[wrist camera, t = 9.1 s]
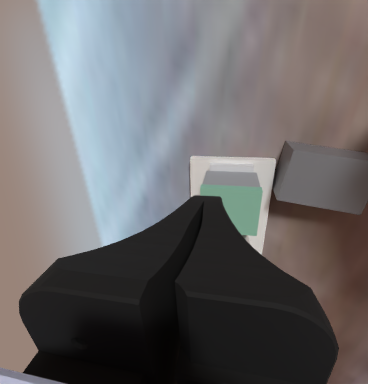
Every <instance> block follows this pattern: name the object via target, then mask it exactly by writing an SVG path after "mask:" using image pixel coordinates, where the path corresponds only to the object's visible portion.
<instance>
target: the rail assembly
mask: <svg viewBox="0 0 368 384" xmlns="http://www.w3.org/2000/svg"><path fill="white" fill-rule="evenodd" d="M275 165H276V160H275V158H252V157H213V156H191V158H190V179H191V197H192V196H194V195H201V196H220V197H221V198H222V202H223V205H224V208H225V210H226V212H227V214H228V216H229V217H230V219H231V221H232V222H233V224H234V225H235V227H236V228H237V230H238V231H239V232H240V234H241V235H248V237H249V241H250V245H251V246H252V247H253V248H254V249H255V250H257V251H258V252H259V253H260V254H261V255H262V250H263V243H264V237H265V230H266V224H267V217H268V211H269V204H270V198H271V191H272V185H273V178H274V172H275Z"/></svg>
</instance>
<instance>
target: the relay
mask: <svg viewBox="0 0 368 384" xmlns="http://www.w3.org/2000/svg"><path fill="white" fill-rule="evenodd" d="M272 189H273V191H274V194H275V197H276V199H277V200H279V201H285V202H290V203H296V204H301V205H307V206H313V207H318V208H324V209H329V210H335V211H340V212H346V213H352V214H357V215H361V213H362V211H363V210H364V208H365V206H366V204H367V202H368V153H366V152H359V151H352V150H345V149H338V148H331V147H324V146H317V145H311V144H304V143H297V142H290V141H285V144H284V147H283V150H282V153H281V156H280V160H279V163H278V166H277V169H276V172H275V176H274V179H273V185H272Z"/></svg>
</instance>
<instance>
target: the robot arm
mask: <svg viewBox="0 0 368 384" xmlns="http://www.w3.org/2000/svg"><path fill="white" fill-rule="evenodd" d="M19 313H20V316H21V319H22V321H23V323H24V325H25V327H26V328H27V330H28V332H29V334H30V336H31V338H32V339H33V341H34V343H35V345H36V346H37V348H38V350H39V351H38V353H37V354H36V355H35V357H34V358H33V359H32V361H31V362H30V364H29V365H28V366H27V368H26V369H25V371H24V372H23V373H20V372H16V371H12V370H8V369H4V368H0V384H327V381H328V379H329V377H330V374H331V372H332V369H333V367H334V365H335V362H336V360H337V356H338V349H339V347H338V344H337V341H336V338H335V335H334V332H333V329H332V327H331V325H330V322H329V320H328V318H327V316H326V314H325V312H324V311H323V309H322V307H321V305H320V303H319V302H318V300H317V298H316V296H315V295H314V293H313V291H312V289H311V288H310V287H308V286H307V285H305V284H303V283H302V282H300V281H298V280H297V279H295V278H294V277H292V276H290V275H289V274H287V273H285V272H284V271H282V270H281V269H279V268H278V267H277V266H275V265H274V264H273V263H271V262H270V261H268V260H267V259H266V258H265V257H263V256H262V255H261V254H260V253H259V252H258V251H257V250H255V249H254V248H253V247H252V246H251V245H250V244H249V243H248V242H247V241H246V240H245V238H244V237H243V236H242V235H241V234H240V232H239V231H238V230H237V228H236V227H235V225H234V224H233V222H232V221H231V219H230V217H229V216H228V214H227V212H226V210H225V208H224V205H223V202H222V198H221V197H220V196H201V195H194V196H192V197H191V198H190V199H189V200H187V201H186V202H185V203H184V204H183V205H181V206H180V207H179V208H178V209H176V210H175V211H174V212H172V213H171V214H170V215H168V216H167V217H165V218H164V219H162V220H161V221H159V222H158V223H156V224H154V225H153V226H151V227H149V228H147V229H145V230H144V231H142V232H139V233H137V234H135V235H133V236H130V237H128V238H126V239H123V240H121V241H118V242H116V243H113V244H110V245H107V246H104V247H101V248H98V249H95V250H91V251H87V252H83V253H79V254H75V255H72V256H67V257H63V258H58V259H57V260H56V261H55V262H54V263H53V264H52V265H51V266H50V267H49V268H48V269H47V270H46V271H45V272H44V273H43V274H42V275H41V276H40V277H39V278H38V279H37V280H36V281H35V282H34V283H33V284H32V285H31V286H30V287H29V288H28V289H27V290H26V291H25V292H24V293H23V294H22V296H21V298H20V300H19Z"/></svg>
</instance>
